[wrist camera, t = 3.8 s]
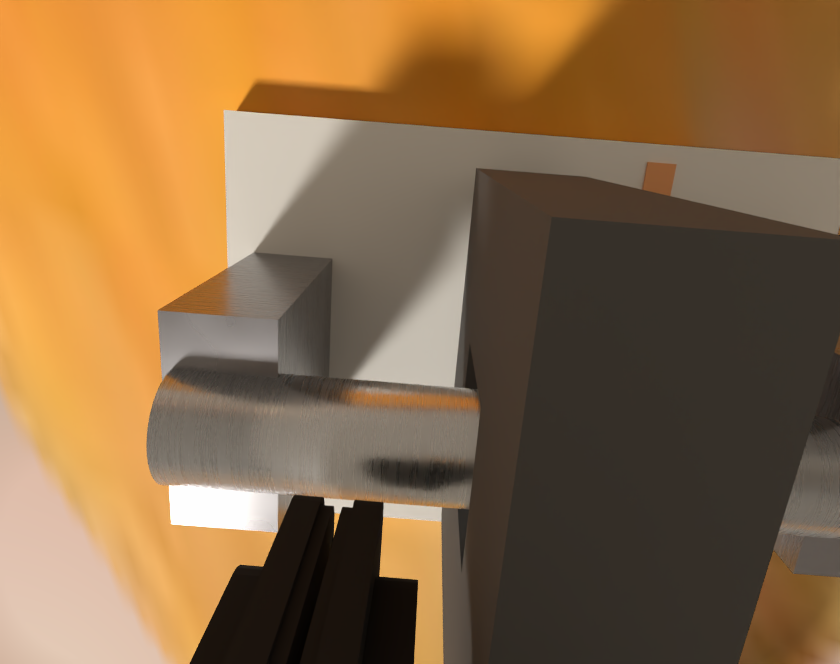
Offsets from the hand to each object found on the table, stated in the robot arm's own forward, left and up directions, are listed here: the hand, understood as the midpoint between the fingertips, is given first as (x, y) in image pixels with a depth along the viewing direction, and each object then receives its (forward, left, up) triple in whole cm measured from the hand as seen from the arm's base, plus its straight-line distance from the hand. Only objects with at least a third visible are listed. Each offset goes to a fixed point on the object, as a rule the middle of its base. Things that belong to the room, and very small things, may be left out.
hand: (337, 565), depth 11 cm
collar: (-4, -2, -8) cm, 9 cm away
